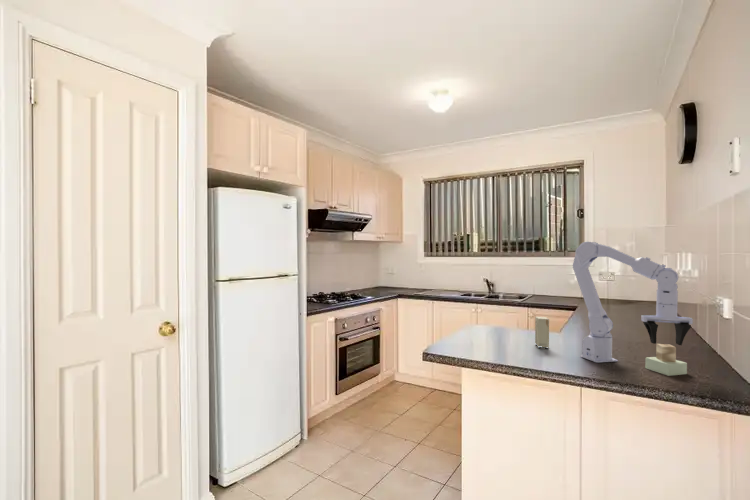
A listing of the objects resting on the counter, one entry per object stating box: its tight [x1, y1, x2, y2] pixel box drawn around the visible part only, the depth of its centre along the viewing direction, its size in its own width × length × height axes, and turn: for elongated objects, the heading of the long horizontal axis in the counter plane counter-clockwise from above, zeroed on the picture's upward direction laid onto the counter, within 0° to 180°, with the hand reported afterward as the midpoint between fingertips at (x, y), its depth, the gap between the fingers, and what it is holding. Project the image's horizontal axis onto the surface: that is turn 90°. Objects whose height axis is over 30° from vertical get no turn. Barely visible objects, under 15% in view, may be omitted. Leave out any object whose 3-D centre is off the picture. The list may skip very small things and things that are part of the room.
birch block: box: [655, 343, 677, 362], centre depth 130 cm, size 4×4×5 cm
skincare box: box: [534, 316, 550, 349], centre depth 160 cm, size 6×4×12 cm
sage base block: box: [644, 356, 688, 377], centre depth 130 cm, size 8×8×4 cm
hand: (666, 343), depth 130 cm, fingers open, 7 cm apart
